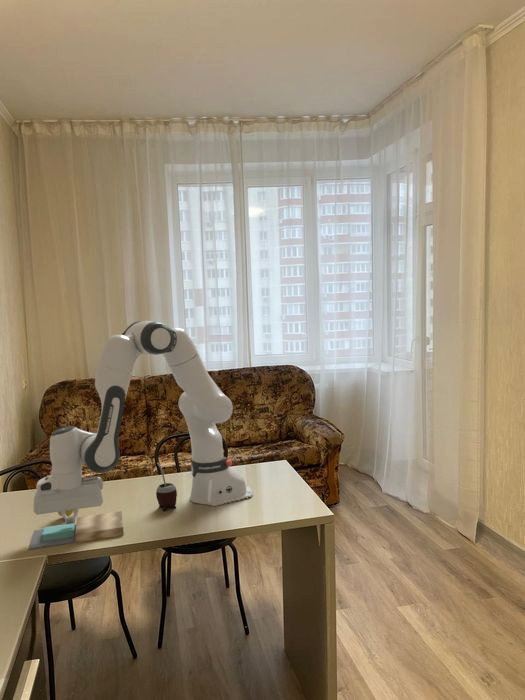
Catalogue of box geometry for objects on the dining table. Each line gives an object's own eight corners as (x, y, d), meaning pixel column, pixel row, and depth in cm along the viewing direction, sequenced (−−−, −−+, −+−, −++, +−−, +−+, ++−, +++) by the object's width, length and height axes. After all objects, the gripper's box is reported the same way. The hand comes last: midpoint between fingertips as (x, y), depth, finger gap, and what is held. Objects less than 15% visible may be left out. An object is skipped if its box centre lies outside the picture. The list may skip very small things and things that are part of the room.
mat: (77, 525, 175) (77, 524, 175) (75, 542, 161) (75, 541, 161) (34, 531, 171) (34, 530, 171) (28, 549, 158) (28, 548, 158)
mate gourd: (173, 512, 182) (170, 468, 181) (151, 511, 184) (148, 468, 183) (181, 504, 190) (178, 462, 188) (160, 503, 191) (157, 462, 190)
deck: (122, 518, 179) (121, 511, 178) (123, 534, 165) (123, 527, 165) (77, 525, 175) (77, 517, 175) (75, 542, 161) (74, 534, 161)
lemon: (57, 516, 183) (55, 493, 182) (74, 513, 185) (73, 491, 184) (57, 522, 178) (55, 498, 177) (75, 519, 180) (73, 496, 179)
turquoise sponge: (75, 528, 171) (74, 522, 171) (74, 536, 165) (73, 530, 165) (45, 533, 168) (44, 527, 168) (42, 541, 163) (42, 534, 163)
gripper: (102, 472, 172) (105, 514, 173) (33, 481, 166) (36, 524, 168) (102, 478, 166) (105, 521, 167) (30, 487, 160) (34, 532, 161)
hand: (70, 523), depth 167 cm, fingers closed
